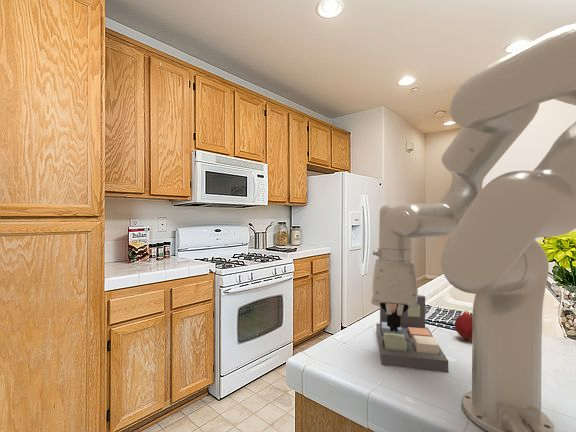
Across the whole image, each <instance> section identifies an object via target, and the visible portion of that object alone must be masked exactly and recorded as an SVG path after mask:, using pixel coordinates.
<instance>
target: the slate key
mask: <svg viewBox="0 0 576 432" xmlns="http://www.w3.org/2000/svg"><path fill="white" fill-rule="evenodd" d="M381 331H382V336H384V333H394V334H402V328H401V326H400V327H398V332H395V331H393V332H392V331H390V327H389V326H387V322H381Z"/></svg>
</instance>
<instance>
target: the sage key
mask: <svg viewBox="0 0 576 432" xmlns="http://www.w3.org/2000/svg"><path fill="white" fill-rule="evenodd" d="M384 346H385V349H388V350H398V351H407V341H406V339H405V336H404V334H394V333H384Z"/></svg>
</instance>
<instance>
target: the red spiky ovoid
mask: <svg viewBox="0 0 576 432" xmlns="http://www.w3.org/2000/svg"><path fill="white" fill-rule="evenodd" d="M472 321H473V315H471V313H470V312H469V311H468V310H465V311H464V313H462V314H460V315H458V317H456V319H455V321H454V328H455V331H456V333H458V335H459V336H460V337H461V338H463V340H466V341H469V340H472Z"/></svg>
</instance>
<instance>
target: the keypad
mask: <svg viewBox="0 0 576 432" xmlns="http://www.w3.org/2000/svg"><path fill="white" fill-rule="evenodd" d="M396 305H397V304H391V309H392V311H393V312H395V310H396ZM417 305H418V307H417V308H411V309H407V310H406V311H405V312H404V313H402V315H401V319H400V326H401V328H402V334H404V336H405V339H406V341H407V351H398V350H388V349H385V346H384V336H382V331H381V322H387V313H386V312H385V310H384V309H383V308H382V307H380V306H379V323H377V322H376V323H375V324H376V328H375V329H376V331H375V332H376V339H377V344H378V351H379V357H380V364H381V366H386V367H387V366H390V367H397V368H407V369H415V370H417V369H418V370H424V371H425V370H426V371H434V372H443V373H449V359H448V358H447V357H446V355H445V353H444V351H443V350H442V348H441V346H439V354H429V353H419V352H416V351H415V348H414V346H413V339H410V338H409V335H408V327H413V328H426V329H427V330H428V331H429V333H430V335H431V337H434V335H433V334H432V332H431V331H430V329H429V327H427V326H426V296H425V295H419V294H418V300H417Z"/></svg>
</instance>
